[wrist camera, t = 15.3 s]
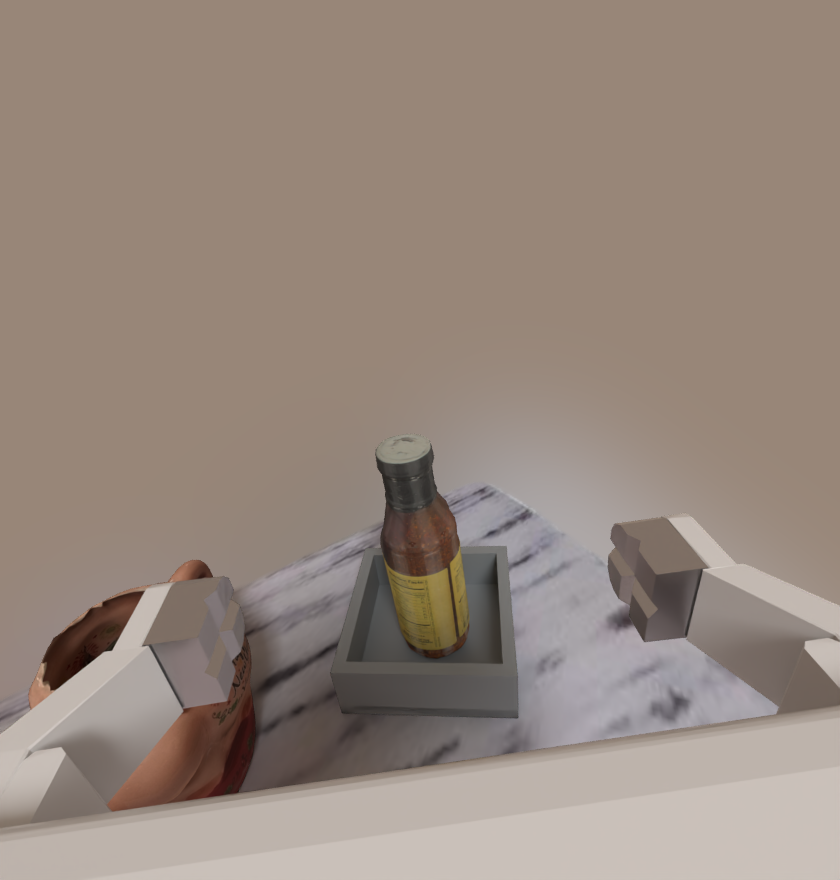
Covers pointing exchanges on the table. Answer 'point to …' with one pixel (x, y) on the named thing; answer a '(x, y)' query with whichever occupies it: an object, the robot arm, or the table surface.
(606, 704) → the table surface
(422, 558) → the sauce bottle
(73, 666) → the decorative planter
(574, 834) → the robot arm
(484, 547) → the tray
